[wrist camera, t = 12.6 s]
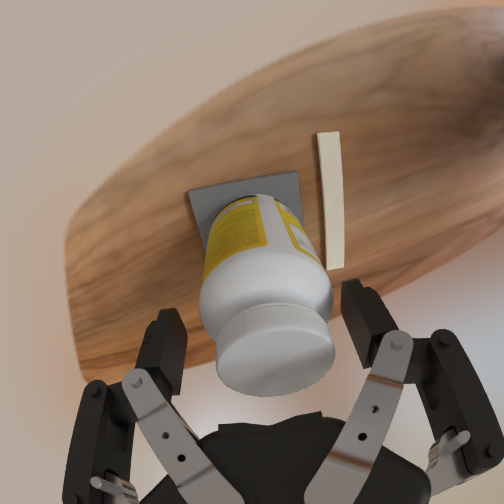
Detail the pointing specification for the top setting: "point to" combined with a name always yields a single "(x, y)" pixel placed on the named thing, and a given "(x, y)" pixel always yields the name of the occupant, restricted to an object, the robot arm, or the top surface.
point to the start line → (332, 197)
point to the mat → (218, 195)
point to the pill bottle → (265, 299)
